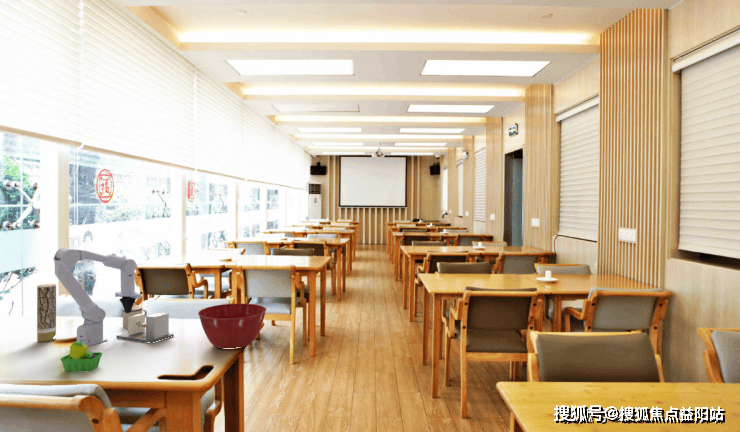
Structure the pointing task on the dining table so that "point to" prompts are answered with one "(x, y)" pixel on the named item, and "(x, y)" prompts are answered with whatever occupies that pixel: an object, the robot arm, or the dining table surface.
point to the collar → (132, 324)
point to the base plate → (140, 337)
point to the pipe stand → (156, 325)
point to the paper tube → (46, 312)
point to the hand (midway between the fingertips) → (128, 312)
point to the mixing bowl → (232, 324)
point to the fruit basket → (80, 358)
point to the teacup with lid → (132, 314)
